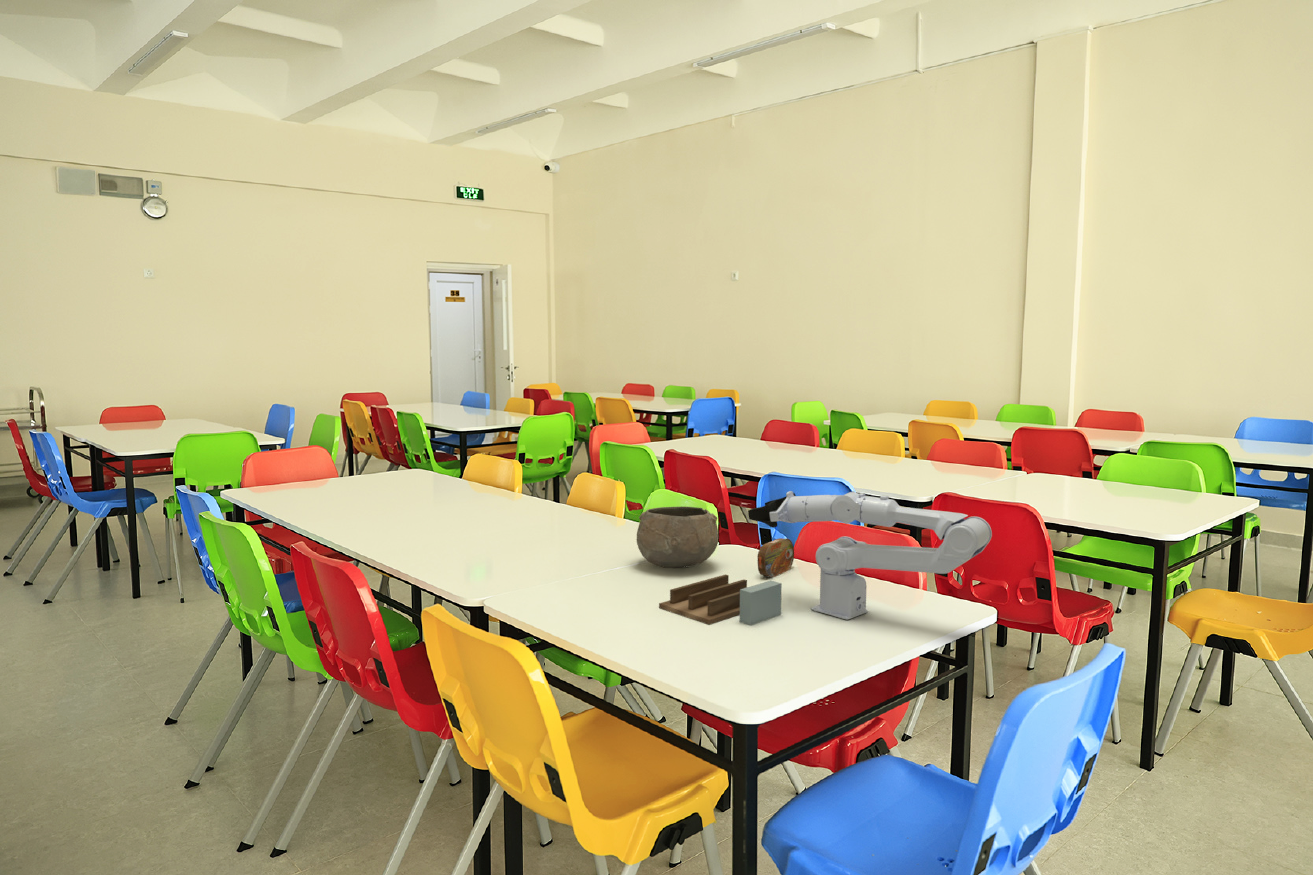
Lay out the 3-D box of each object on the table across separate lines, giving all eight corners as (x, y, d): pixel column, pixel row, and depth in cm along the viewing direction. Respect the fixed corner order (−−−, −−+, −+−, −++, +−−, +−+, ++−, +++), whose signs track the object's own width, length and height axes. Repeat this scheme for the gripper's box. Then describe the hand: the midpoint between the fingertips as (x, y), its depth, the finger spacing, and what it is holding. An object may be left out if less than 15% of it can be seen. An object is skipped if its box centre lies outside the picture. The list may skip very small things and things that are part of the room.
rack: (776, 602, 190) (776, 585, 190) (709, 624, 175) (709, 605, 174) (726, 588, 201) (726, 571, 200) (659, 607, 186) (659, 590, 185)
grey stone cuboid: (780, 615, 182) (781, 583, 181) (750, 625, 175) (751, 592, 174) (769, 611, 184) (770, 580, 183) (739, 622, 177) (740, 589, 176)
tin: (765, 581, 207) (766, 547, 206) (754, 578, 209) (755, 545, 208) (795, 568, 219) (795, 536, 218) (784, 566, 221) (785, 534, 220)
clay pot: (620, 565, 221) (620, 508, 219) (678, 552, 234) (678, 499, 233) (676, 583, 205) (676, 521, 203) (734, 567, 219) (735, 510, 217)
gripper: (823, 484, 191) (770, 487, 200) (792, 497, 180) (738, 500, 188) (827, 514, 192) (775, 516, 200) (797, 530, 180) (743, 531, 189)
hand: (757, 510), depth 194 cm, fingers open, 7 cm apart
